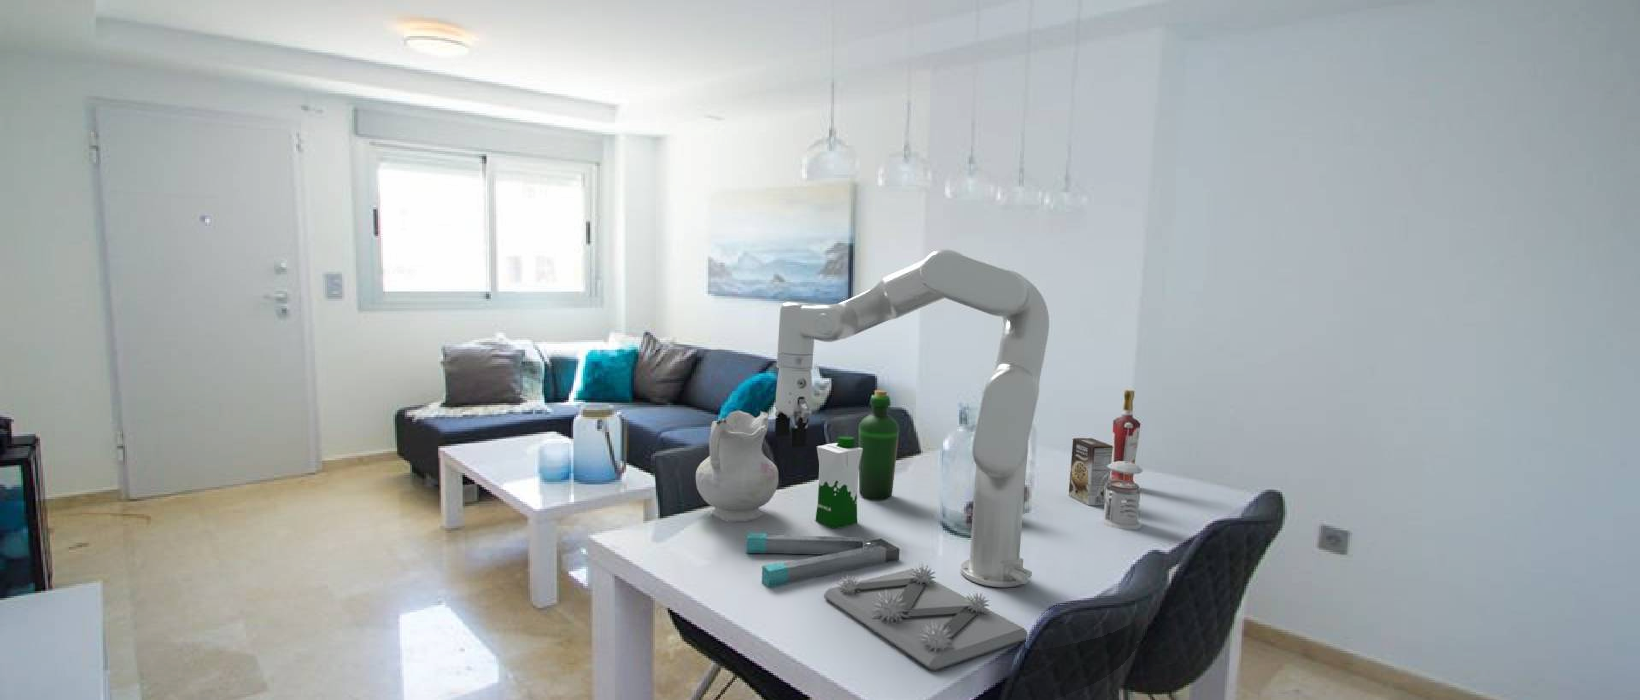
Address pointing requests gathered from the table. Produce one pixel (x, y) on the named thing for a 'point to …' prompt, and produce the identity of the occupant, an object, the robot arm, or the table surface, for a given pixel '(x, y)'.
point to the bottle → (878, 449)
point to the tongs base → (828, 564)
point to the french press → (1122, 496)
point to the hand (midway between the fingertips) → (789, 440)
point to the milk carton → (838, 482)
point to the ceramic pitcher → (737, 468)
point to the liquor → (1125, 437)
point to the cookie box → (1089, 470)
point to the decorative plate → (925, 617)
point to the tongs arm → (803, 544)
